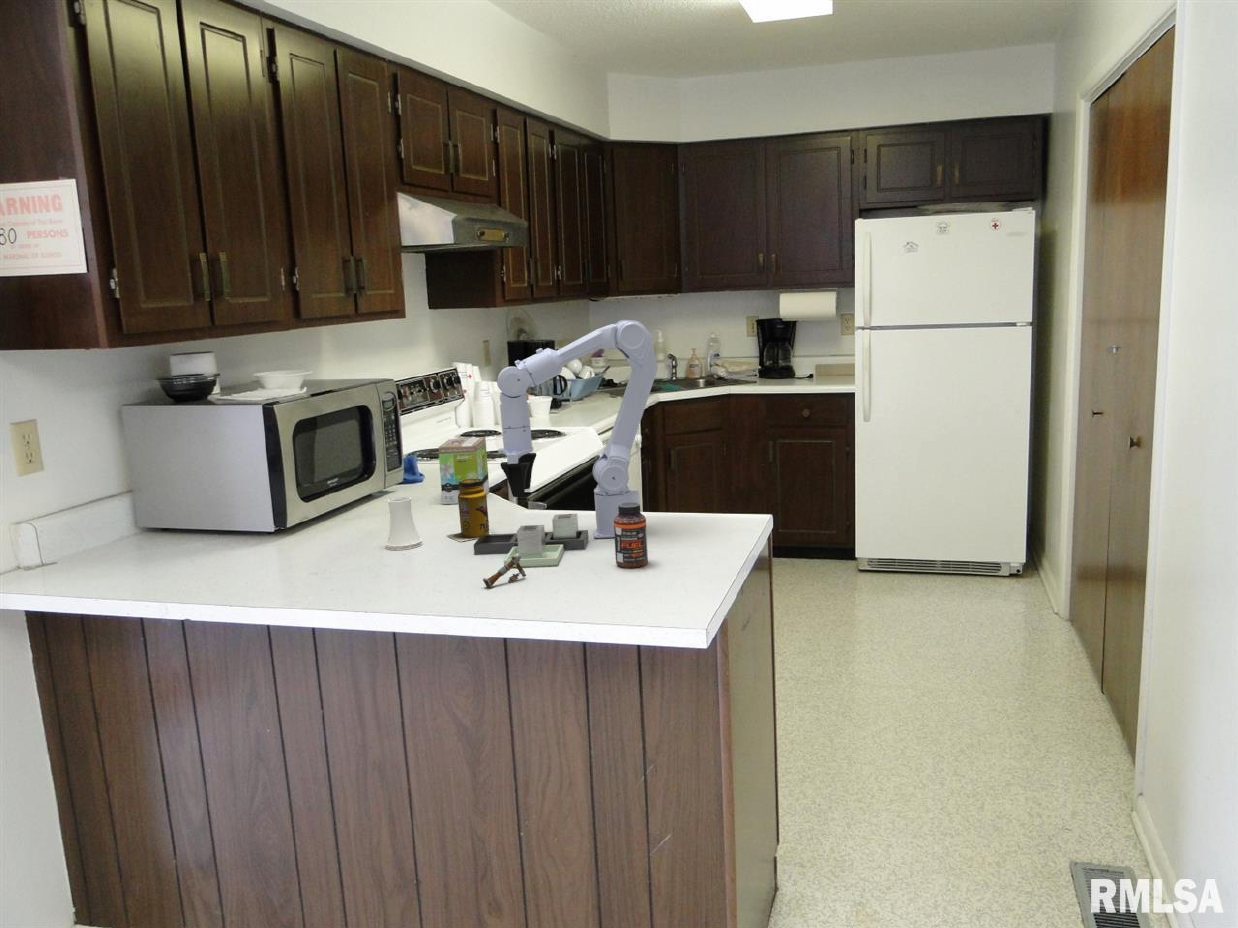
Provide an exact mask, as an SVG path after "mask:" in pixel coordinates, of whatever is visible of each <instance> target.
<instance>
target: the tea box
mask: <svg viewBox="0 0 1238 928" xmlns="http://www.w3.org/2000/svg"><path fill="white" fill-rule="evenodd" d="M487 455H488V453H487V441H486V437H484V436H483V437H465V438H451V439H450V438H449V439H447V440H446V441H445V442H444V443H442V444H441V445H440V446H438V461H439V473H440V475H439V476H440V477H439V478H440V486H441V487H440V488H441V500H442V505H459V504H458V495H459V493H460V491H459V485H458V484H459V482H460V481H462V480H466V479H482V480H483V482H484V483H483V485H484V491H485V492H486V495H487V494H488V493H489V492H490V483H489V482H490V481H489V468H488V456H487Z"/></svg>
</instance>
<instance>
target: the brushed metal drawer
mask: <svg viewBox="0 0 1238 928" xmlns="http://www.w3.org/2000/svg"><path fill="white" fill-rule="evenodd" d="M551 522H552V532H553V537H554V540H563V539H579V532H578V530H579V522H578V513H563V514H562V513H559V514H554V516H553V517H552V519H551Z"/></svg>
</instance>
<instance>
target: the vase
mask: <svg viewBox="0 0 1238 928" xmlns="http://www.w3.org/2000/svg"><path fill="white" fill-rule="evenodd" d="M387 503H388V508H389V515H390V516H389V517H390V523H389V524H390V525H389V526H390V527H389V533H388V536H387V541H386V542H385V543H384V544H385V545H386V546H385V549H386V550H390V551H404V550H405V551H406V550H411V549H416V548H419V547H420V546H422V545H423V538H421V536H420V535H419V534H418V531H417V529H416V526H415V523H414V519H413V513H412V497H410V496H397V497H393V498H389V499H387Z"/></svg>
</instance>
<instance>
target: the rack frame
mask: <svg viewBox="0 0 1238 928" xmlns="http://www.w3.org/2000/svg"><path fill="white" fill-rule="evenodd" d="M578 532H579V539H563V540H554V537H553V531H545V542H546V545H563V546H564V550H566V551H583V550H586V547H587V544H588V543H589V540H588V539H589V530H588V529H582V530H581V529H578ZM512 547H518V539H517V532H515V533H514V532H513V533H495V534H490V535H481V536H480V538H478V539H476V541H475V543H474V544H473V552H474V553H473V554H474V555H497V554H508V553H509V552H510V550H511V549H512Z"/></svg>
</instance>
